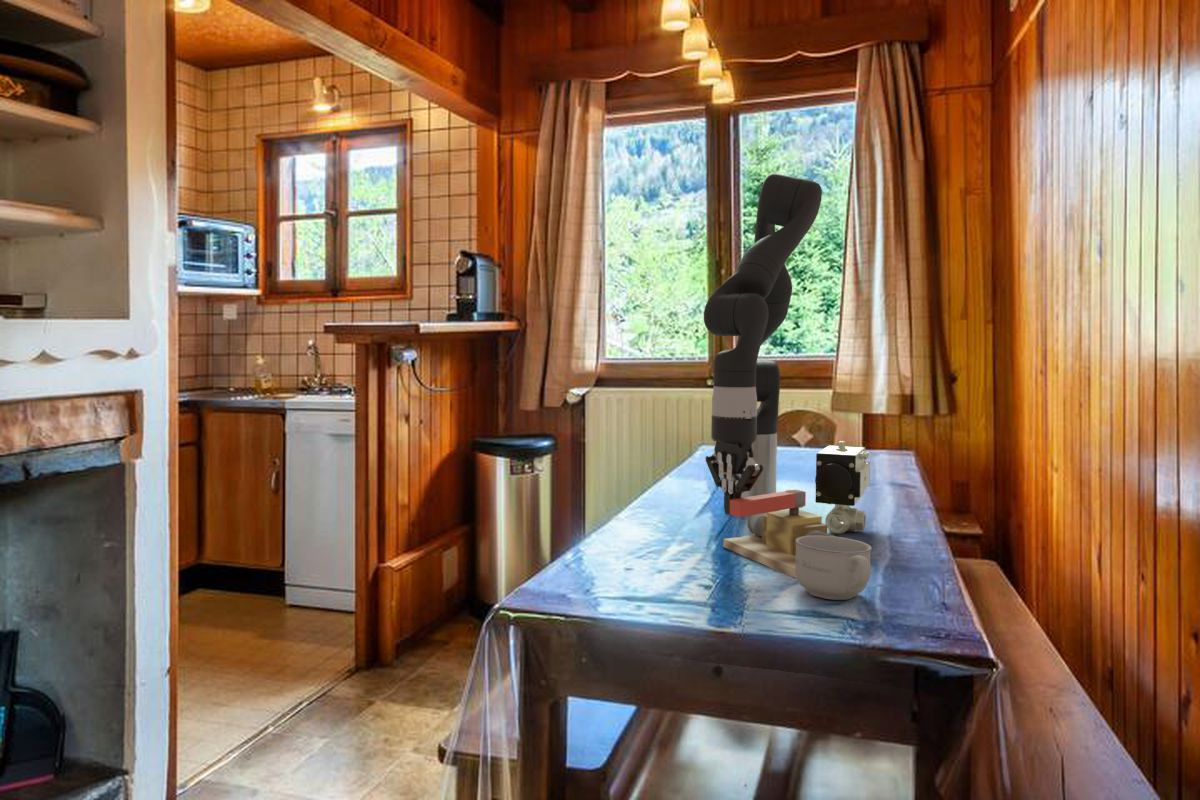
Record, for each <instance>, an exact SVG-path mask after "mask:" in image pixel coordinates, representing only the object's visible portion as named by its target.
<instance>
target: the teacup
mask: <svg viewBox="0 0 1200 800" xmlns="http://www.w3.org/2000/svg"><path fill="white" fill-rule="evenodd" d="M833 536H834V535H833ZM833 536H819V535H814V536H802V537H799V538H797V539H796V559H795V571H796V577H797V582H798V583H799V585H801V586H802V587H803V588H804V589H805V590H806V592H807V593H809V595H811V596H814V597H817V598H821V599H824V600H825V599H826V600H832V601H833V600H834V601H846V600H850V599H853V598H854V597H856V595H859V594H860V593H861V592H863V591H864V589H866V587H867V585H868V583H869V581H870V579H871V574H872V572H871V552H872V551H873V550H872V546H871V545H870V544H868V543H867V542H866V543H865V542H864V541H861V540H856V539H852V538H848V537H841V536H836V537H833Z"/></svg>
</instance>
